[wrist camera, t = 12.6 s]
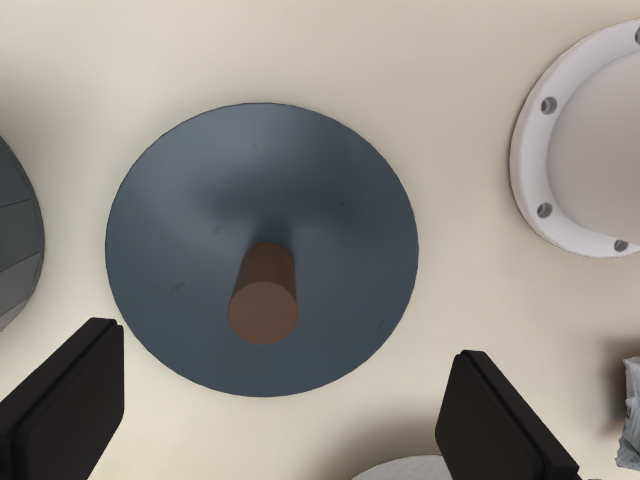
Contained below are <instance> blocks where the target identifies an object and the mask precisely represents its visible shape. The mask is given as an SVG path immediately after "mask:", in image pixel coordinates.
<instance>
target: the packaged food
mask: <svg viewBox="0 0 640 480" xmlns="http://www.w3.org/2000/svg"><path fill="white" fill-rule="evenodd" d="M623 363H624V364H625V366H626V368H627V369H626V371H625V372H626V386H627V400H626V405H627V411H628V412H626V415H625V416H626V420H625V423H624V427H623V431H622V437H621V438H620V439H619V443H620V448H619V450H618V451H617V454H618V457H617V458H615V461H616V464H617V466H618V467H624V468H628V469H633V470H638V471H640V356H639V357H632V358H631V359H630V358H628V359H623ZM619 452H620V453H619Z"/></svg>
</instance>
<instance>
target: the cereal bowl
mask: <svg viewBox="0 0 640 480" xmlns="http://www.w3.org/2000/svg"><path fill="white" fill-rule="evenodd" d="M350 480H453V479H452V477H451V475H450V472H449V470H448V468H447V466H446V463H445V461H444V459H443V456H438V455H433V456H432V455H423V456H411V457H405V458H399V459H397V460H392V461H390V462H385V463H384V464H379V465H378V466H373V467H372V468H371V469H368V470H366V471H365V472H362V473H360V474H359V475H358V476H356V477H354V478H353V479H350Z"/></svg>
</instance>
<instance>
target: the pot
mask: <svg viewBox="0 0 640 480" xmlns="http://www.w3.org/2000/svg"><path fill="white" fill-rule="evenodd" d="M43 254H44V232H43V222H42V217H41V213H40V209H39V204H38V201H37V199H36V196H35V193H34V191H33V188H32V185H31V183H30V181H29V179H28V177H27V175H26V173H25V171H24V169H23V167H22V166H21V164H20V162H19V161H18V159H17V158H16V156H15V155H14V153H13V152H12V150H11V149H10V147H9V146H8V145H7V143H6V142H5V141H4V140H3V139H2V138H1V136H0V333H1V332H2V330H3V329H4V328H5V327H6V325H7V324H9V323H10V322H11V321H12V320H13V319H14V318H15V317H16V316H17V315H18V313H19V312H20V311H21V310H22V309H23V308H24V306H25V305H26V303H27V301H28V300H29V298H30V296H31V295H32V293H33V291H34V289H35V286H36V284H37V281H38V279H39V276H40V271H41V267H42V262H43Z"/></svg>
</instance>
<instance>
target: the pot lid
mask: <svg viewBox="0 0 640 480" xmlns="http://www.w3.org/2000/svg"><path fill="white" fill-rule="evenodd" d="M418 253H419V246H418V234H417V227H416V223H415V218H414V213H413V210H412V207H411V205H410V202H409V199H408V197H407V194H406V192H405V190H404V188H403V186H402V184H401V182H400V181H399V179H398V177H397V175H396V174H395V172H394V171H393V170H392V168H391V167H390V166H389V164H388V163H387V161H386V160H385V159H384V158H383V157H382V156H381V155H380V154H379V153H378V152H377V150H376V149H375V148H374V147H373V146H372V145H371V144H370V143H368V142H367V141H366V140H365V139H363V138H362V137H361V136H359V135H358V134H357V133H356V132H354V131H353V130H351V129H350V128H348V127H346V126H344V125H343V124H341V123H339V122H338V121H336V120H334V119H332V118H329V117H327V116H324V115H322V114H320V113H317V112H315V111H311V110H308V109H304V108H300V107H296V106H292V105H285V104H276V103H243V104H237V105H231V106H224V107H221V108H217V109H214V110H211V111H207V112H204V113H201V114H199V115H197V116H195V117H193V118H190V119H188V120H186V121H184V122H182V123H180V124H179V125H177V126H176V127H174V128H172V129H171V130H169V131H168V132H166V133H165V134H163V135H162V136H161V137H160V138H159V139H157V140H156V141H155V142H154V143H153V144H152V145H151V146H149V147H148V148H147V149H146V150H145V151H144V152H143V154H142V155H141V156H140V157H139V158H138V160H137V161H136V162H135V163H134V164H133V166H132V167H131V168H130V170H129V172H128V173H127V175H126V177H125V178H124V180H123V182H122V183H121V185H120V187H119V189H118V192H117V194H116V197H115V199H114V201H113V204H112V207H111V211H110V215H109V219H108V223H107V230H106V240H105V257H106V268H107V274H108V279H109V284H110V287H111V290H112V293H113V296H114V299H115V302H116V304H117V306H118V308H119V310H120V312H121V314H122V316H123V318H124V320H125V322H126V323H127V325H128V326H129V328H130V329H131V331H132V332H133V334H134V335H135V337H136V338H137V339H138V340H139V341H140V342H141V343H142V344H143V346H144V347H145V348H146V349H147V350H148V351H149V352H150V353H151V354H152V355H154V356H155V357H156V358H157V359H158V360H159V361H160V362H162V363H163V364H164V365H166V366H167V367H169V368H170V369H171V370H173V371H174V372H176V373H177V374H179V375H181V376H183V377H185V378H187V379H189V380H191V381H192V382H194V383H197V384H199V385H202V386H205V387H207V388H210V389H213V390H216V391H220V392H224V393H228V394H233V395H240V396H247V397H276V396H287V395H292V394H297V393H302V392H306V391H309V390H312V389H316V388H319V387H322V386H324V385H326V384H329V383H331V382H333V381H335V380H338V379H339V378H341V377H343V376H344V375H346V374H348V373H350V372H351V371H353V370H354V369H356V368H357V367H358V366H360V365H361V364H362V363H364V362H365V361H366V360H368V359H369V358H370V357H371V356H372V355H373V354H374V353H375V352H376V351H377V350H378V349H379V348H380V347H381V346H382V345H383V343H384V342H385V341H386V340H387V339H388V337H389V336H390V335H391V334H392V332H393V331H394V329H395V327H396V326H397V324H398V323H399V321H400V320H401V318H402V316H403V314H404V312H405V309H406V307H407V305H408V303H409V300H410V297H411V294H412V291H413V288H414V285H415V279H416V274H417V269H418Z"/></svg>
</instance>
